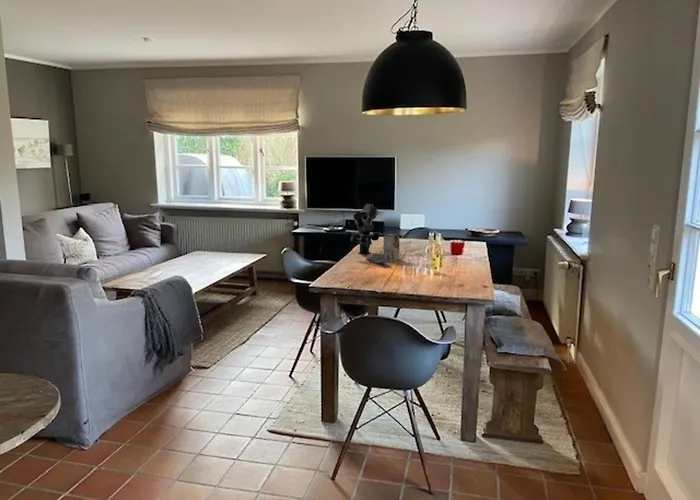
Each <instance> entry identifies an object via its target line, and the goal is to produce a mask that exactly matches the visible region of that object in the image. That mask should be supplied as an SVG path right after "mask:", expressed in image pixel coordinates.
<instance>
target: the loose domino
mask: <svg viewBox="0 0 700 500" xmlns="http://www.w3.org/2000/svg"><path fill="white" fill-rule="evenodd" d="M377 254H379V252H373V253H372V252H371V253H369V254H366V256H365V257H364V258H365V260H368V258H369V257H371V256H373V255H377Z"/></svg>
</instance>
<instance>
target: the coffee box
mask: <svg viewBox="0 0 700 500" xmlns="http://www.w3.org/2000/svg"><path fill="white" fill-rule="evenodd" d="M382 256H384V259H386V258H388V262H394V261H397V260H400V234H398V233H388V234H383V255H382Z"/></svg>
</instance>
